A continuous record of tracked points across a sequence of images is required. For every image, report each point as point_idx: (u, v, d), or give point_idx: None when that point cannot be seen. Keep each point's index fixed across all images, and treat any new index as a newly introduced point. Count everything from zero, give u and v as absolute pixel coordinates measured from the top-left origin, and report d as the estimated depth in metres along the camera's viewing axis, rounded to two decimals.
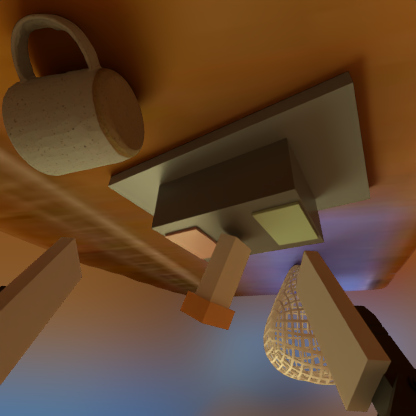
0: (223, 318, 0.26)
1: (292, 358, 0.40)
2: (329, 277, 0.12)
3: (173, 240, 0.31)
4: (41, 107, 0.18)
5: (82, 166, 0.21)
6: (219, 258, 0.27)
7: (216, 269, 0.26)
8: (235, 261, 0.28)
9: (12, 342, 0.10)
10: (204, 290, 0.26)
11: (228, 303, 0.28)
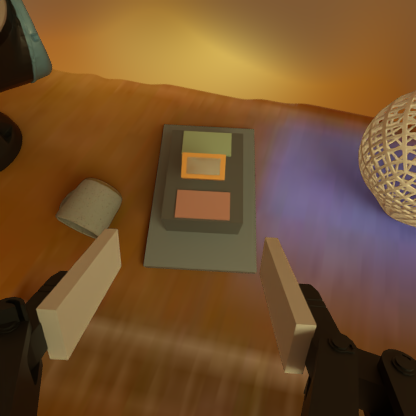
0: None
1: (402, 148, 0.29)
2: (282, 259, 0.13)
3: (183, 215, 0.37)
4: (68, 198, 0.40)
5: (91, 203, 0.39)
6: None
7: None
8: None
9: (77, 319, 0.11)
10: None
11: None
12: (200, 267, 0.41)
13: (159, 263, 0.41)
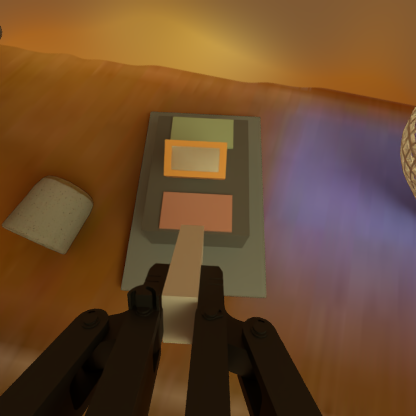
0: None
1: None
2: (197, 244, 0.14)
3: (170, 225, 0.28)
4: None
5: (48, 209, 0.30)
6: None
7: None
8: None
9: None
10: None
11: None
12: None
13: None
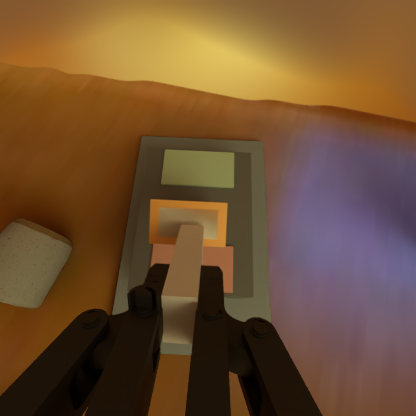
0: (201, 201, 0.18)
1: None
2: (197, 244, 0.14)
3: None
4: None
5: (16, 263, 0.25)
6: None
7: None
8: None
9: None
10: None
11: None
12: (190, 352, 0.28)
13: None
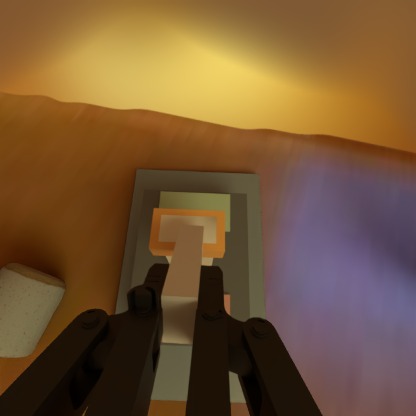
0: None
1: None
2: (197, 244, 0.14)
3: None
4: None
5: (7, 313, 0.25)
6: None
7: None
8: None
9: None
10: None
11: None
12: None
13: None
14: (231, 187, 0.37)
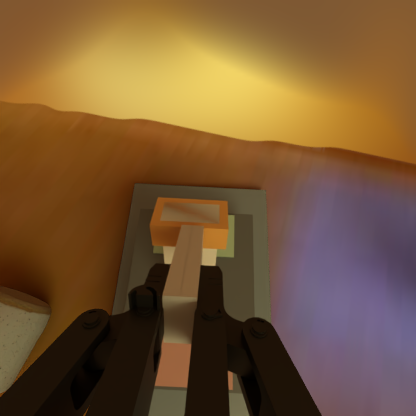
0: None
1: None
2: (197, 244, 0.14)
3: None
4: None
5: None
6: None
7: None
8: None
9: None
10: None
11: None
12: None
13: None
14: (235, 204, 0.34)
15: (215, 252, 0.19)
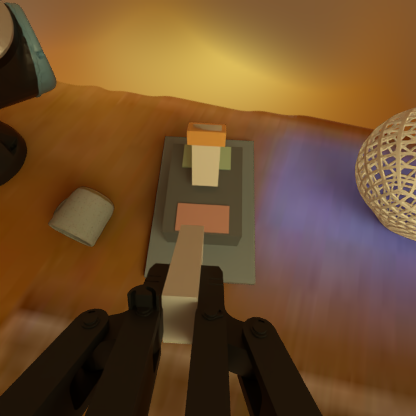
0: None
1: (396, 166, 0.30)
2: (197, 244, 0.14)
3: None
4: None
5: (83, 212, 0.40)
6: None
7: None
8: None
9: None
10: None
11: None
12: None
13: None
14: None
15: (219, 151, 0.36)
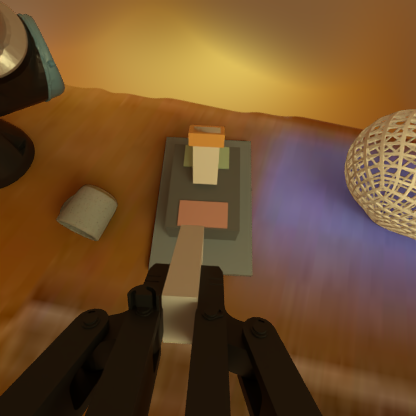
0: None
1: (380, 166, 0.33)
2: (197, 244, 0.14)
3: (185, 223, 0.41)
4: (68, 203, 0.44)
5: (89, 208, 0.43)
6: None
7: None
8: None
9: None
10: None
11: None
12: None
13: None
14: None
15: (218, 152, 0.39)
